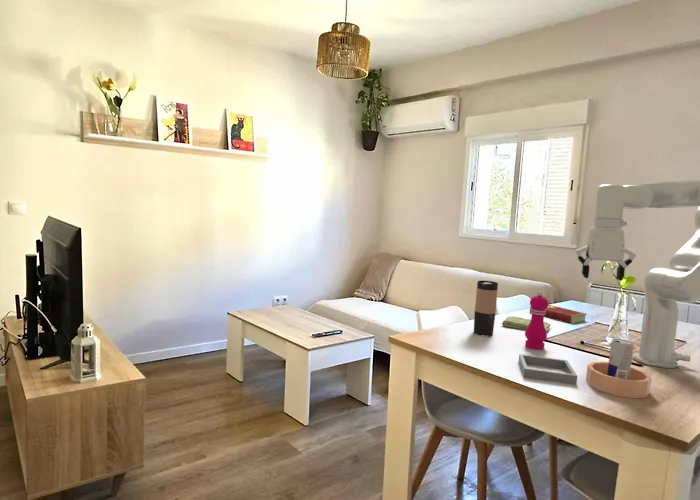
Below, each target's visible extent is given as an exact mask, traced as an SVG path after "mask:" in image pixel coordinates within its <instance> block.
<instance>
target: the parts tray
mask: <svg viewBox="0 0 700 500" xmlns="http://www.w3.org/2000/svg"><path fill="white" fill-rule="evenodd" d="M518 364H519V367H520V370H521V375H522V377H523V378H528V379H533V380H534V379H535V380H541V381H549V382H557V383H562V384H570V385H577V382H578V375H577V373H576V372H575V370H574V369H573V366H572V365H571V364H570V363H569V361H568V360H567V359H561V358H559V359H558V358H552V357H545V356H537V355H530V354H529V355H528V354H521V353H518ZM528 365H533V366H540V367H547V368H548V367H549V368H555V369H556V368H557V369H563V371H564V372H560V371H559V372H558V371H552V370H544V369H538V368H530V367H528Z"/></svg>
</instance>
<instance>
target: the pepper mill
mask: <svg viewBox="0 0 700 500" xmlns="http://www.w3.org/2000/svg"><path fill="white" fill-rule="evenodd" d="M543 295H544V293H543V292H542V291H541V290H540V291H538V292H537V294H536V295H533V296H531V298H530V299H529V305H530V306H531V307H532V308H531V311H530V310H529V313H530V312H531V313H530V314H531V317H530V319H531V321H530V323H529V325H528V327H527V328H526V330H524V336H525V338H526V340H525V343H524V345H525V347H527V348H529V349H532V350H544V349H545V343H544V342H545V341H546V340H547V339H548V335H547V331H546V329H545V327H544V322H545V321H544V315H545V314H546V310H545V309H546V308H547V307H548V305H549V300H548V298H546V297H545V296H543Z"/></svg>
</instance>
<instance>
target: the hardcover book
mask: <svg viewBox="0 0 700 500" xmlns="http://www.w3.org/2000/svg"><path fill="white" fill-rule="evenodd" d="M531 308H532V307H531V305H530V307H529V313H530V314H532V313H531V312H530V311H531ZM545 310H546V314H545V315H544V317H545V318H549V319H552V320H556V321H559V322H564V323H568V324H575V323H583V322H586V316H587V314H588V313H585V312H582V311H577V310H573V309H567V308H565V307H560V306H557V305H556V306H555V305H551V304H548V307H547V308H546V309H545Z"/></svg>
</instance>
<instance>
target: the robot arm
mask: <svg viewBox="0 0 700 500" xmlns="http://www.w3.org/2000/svg"><path fill="white" fill-rule="evenodd" d="M689 207H697V209H696V210H695V213H694V234H693V235H692V237H691V238H690V239H689V240H688V241H687V242H685V243H684V245H682V246H681V248H679V249H678V250H677V251H676V252H675V253H674V254H673V255H672V256H671V258H670V260H669V267H670V268H669V267H654V268H652V269H650V270H648V271H647V272H646V274H645V276H644V277H643V279H644V280H643V289H644V308H643V315H642V322H641V323H642V325H641V330H640V331H641V332H640V340H639V346H638V347H639V349H638V352H634V353H632V359H633V360H635V361H637V362H638V363H642V364H644V365H647V366H652V367H657V368H662V369H663V368H664V369H674V368H677V367H678V365H679V363H678V362H679V361H682V362H690V361H691V356H690V355H688V354H687V355H686V354H683V353H679V352H676V351H675V344H676V338H677V337H676V335H677V328H678V321H679V315H680V311H679V306H678V304H677V301H678V302H683V303H688V304H689V303H690V304H693V303H697V302H699V301H700V179H693V180H691V179H688V180H674V181H671V180H670V181H669V180H668V181H659V182H651V183H643V184H642V183H641V184H623V185H622V184H616V183H615V184H612V183H610V184H608V183H606V184H601V185H598V188H597V192H596V202H595V211H594V213H595V214H594V222H593V223H594V224H593V227H590V230H589V232H588V236H587V241H586V245H585V246H583V247H581V248H578V249H575V250H574V254H575V256H576V259H577V260H578V261H579V262H580V263H581V265H582V267H581V268H582V269H581V275H583V278H585V279H588V278H589V276H590V275H589V274H590V265H589V264H590V263H591V262H592V261H604V262H606V261H607V262H616V263H617V264H618V266H617V268H616V277H615V278H616V280H618V281H623V278H625V271H626V268H627V267H628V266H629V265H630V264H632V263H633V261H634V260H635V258H636V256H637V255H636V254H637V253H634V252H632V251H630V250H628V249H627V248H625V245H626V244H625V232H624V229H622V228H623V227H624V226H625V227H626V226H627V224H628V222H627V221H624V220H623V214H624V210H642V209H645V208H652V209H674V208H689ZM584 252H585V258H584V257H583V256H582V254H583V253H584ZM625 255H627V256H628V257H627V258H626V259H625V260H624V257H625Z"/></svg>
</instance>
